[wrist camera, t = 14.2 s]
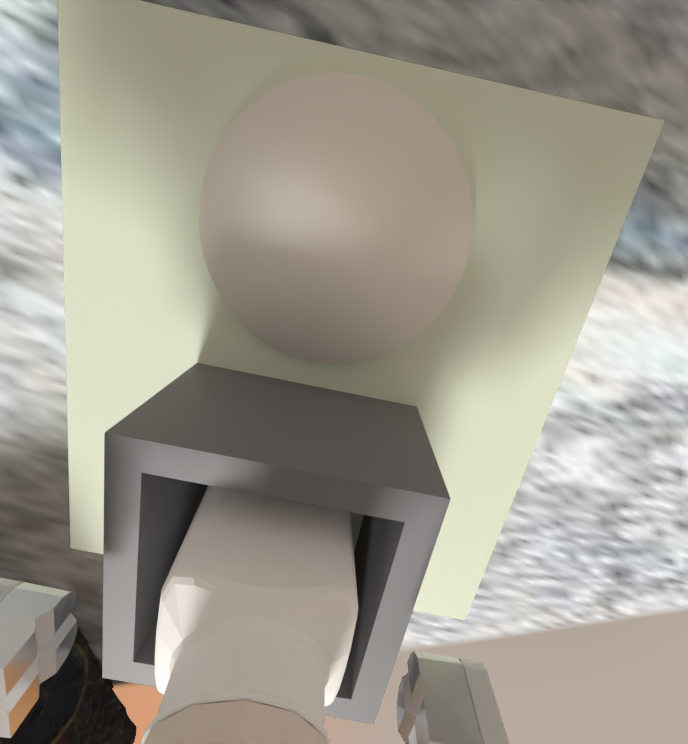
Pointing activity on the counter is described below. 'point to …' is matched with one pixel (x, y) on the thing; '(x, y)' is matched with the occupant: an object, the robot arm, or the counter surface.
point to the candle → (76, 706)
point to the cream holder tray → (315, 301)
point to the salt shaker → (254, 623)
